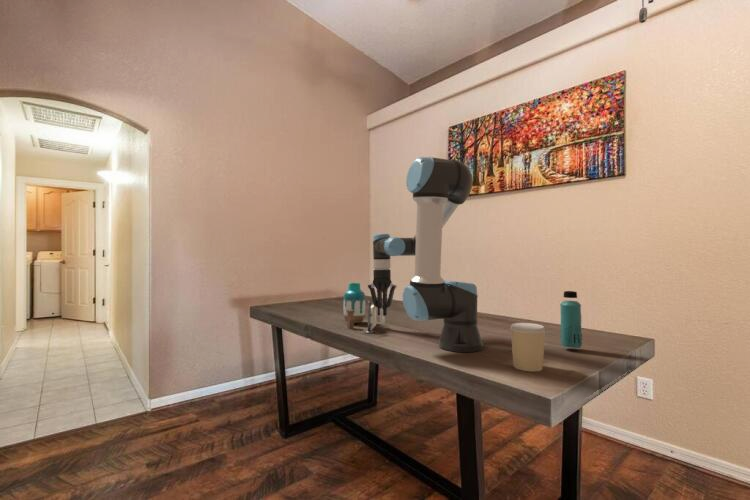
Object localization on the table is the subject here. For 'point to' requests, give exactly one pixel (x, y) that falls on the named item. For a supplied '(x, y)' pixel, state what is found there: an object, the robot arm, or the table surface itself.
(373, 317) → the gate
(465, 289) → the robot arm
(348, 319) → the stile post
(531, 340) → the coffee cup
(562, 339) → the beverage bottle
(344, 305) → the vase
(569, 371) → the table surface
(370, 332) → the hinge post
